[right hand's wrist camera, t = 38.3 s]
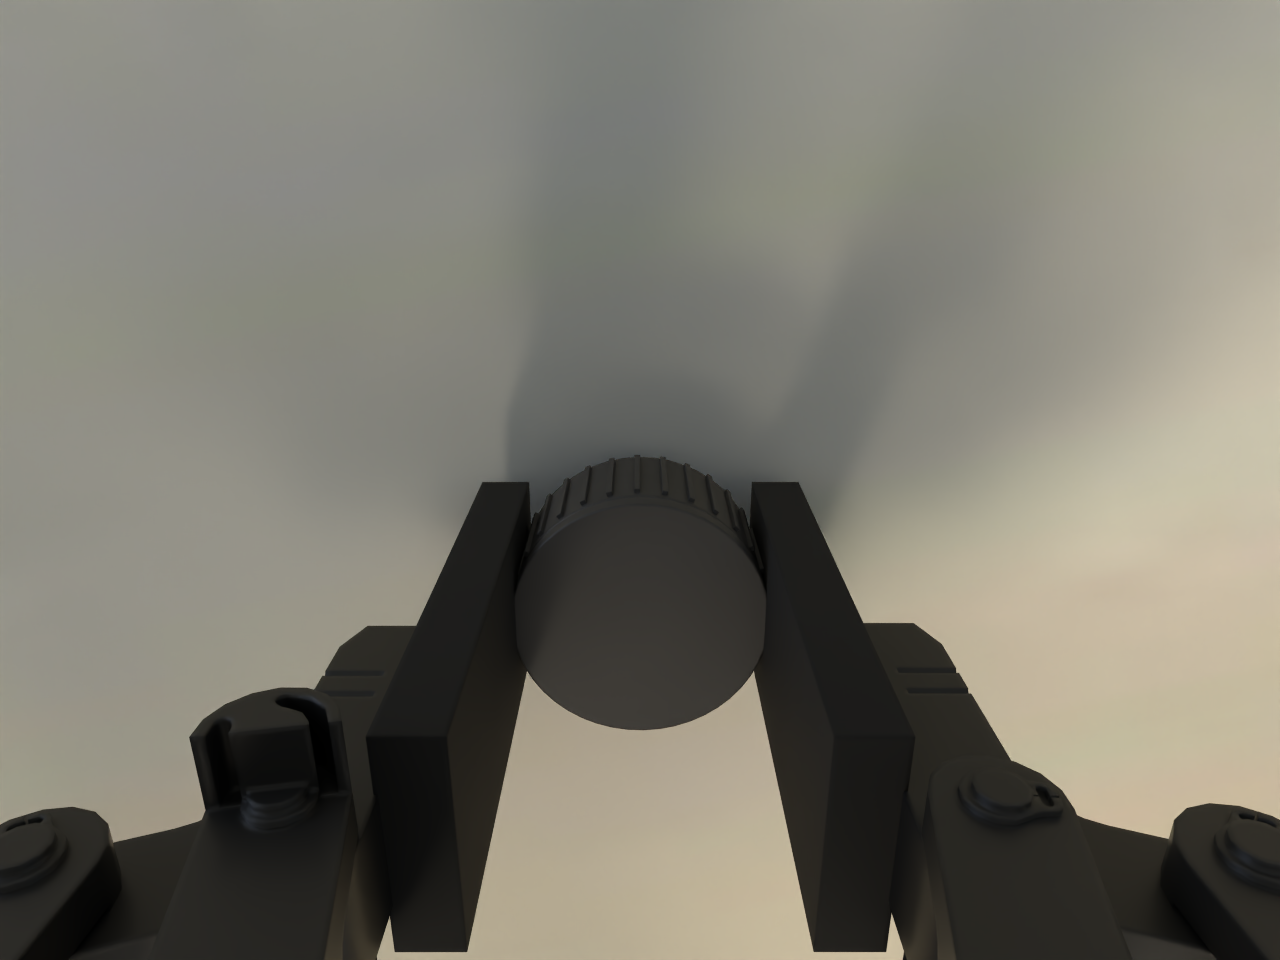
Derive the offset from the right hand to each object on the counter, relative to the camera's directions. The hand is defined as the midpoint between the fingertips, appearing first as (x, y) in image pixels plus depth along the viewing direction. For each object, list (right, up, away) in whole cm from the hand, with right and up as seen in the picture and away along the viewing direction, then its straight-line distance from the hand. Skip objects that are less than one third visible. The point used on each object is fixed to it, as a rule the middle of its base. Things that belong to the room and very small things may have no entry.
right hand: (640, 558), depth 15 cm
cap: (0, -1, -2) cm, 2 cm away
